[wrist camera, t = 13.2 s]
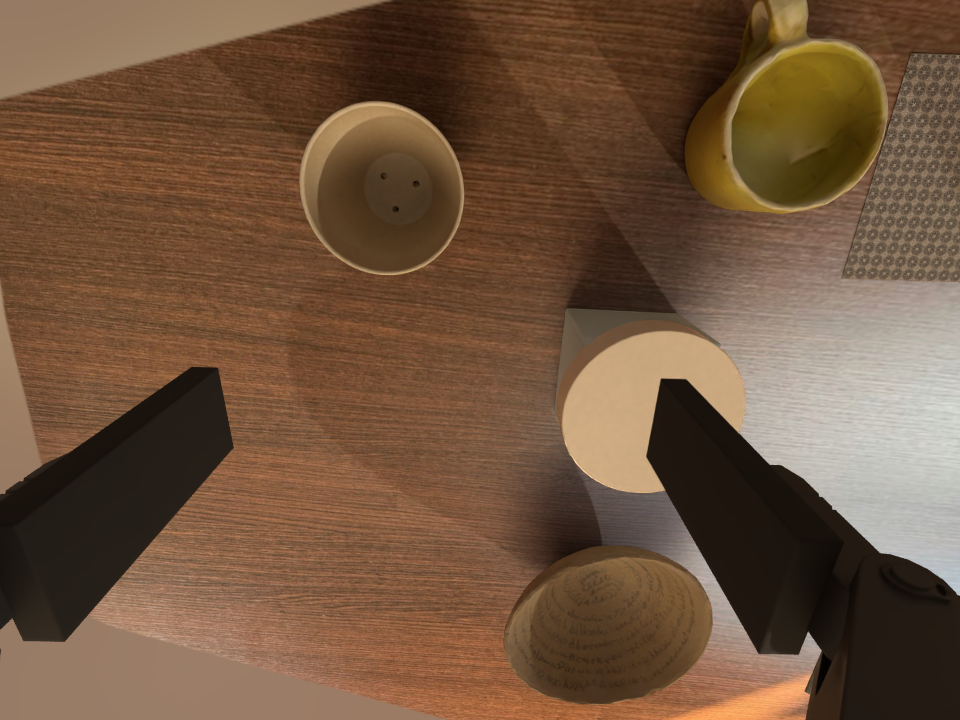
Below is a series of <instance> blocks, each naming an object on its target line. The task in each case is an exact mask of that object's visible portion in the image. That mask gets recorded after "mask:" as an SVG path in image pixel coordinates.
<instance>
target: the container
mask: <svg viewBox="0 0 960 720" xmlns="http://www.w3.org/2000/svg"><path fill="white" fill-rule="evenodd" d="M643 320H664V321H671V322H675V323H679V324H682V325H685V326H687V327H690V328H692V329H693V330H695V331H697V332H699V333H700V334H702V335H703V336H705V337H706V338H707V339H709V340H710V341H711V342H713V343H714V344H716V345H717V346H718V347H719V348H720V345H721V344H720V343H719V342H717V341H716V340H714V339H713V338H712V337H710V336H709V335H707V334H706V333H704V332H703V331H702V330H700V329H699V328H697V327H696V326H694V325H693V324H692V323H690V322H689V321H687V320H686V319H684V318H683V317H682V316H680V315H679V314H677V313H657V312H636V311H616V310H595V309H574V308H566V312H565V321H564V329H563V338H562V346H561V355H560V363H559V372H558V380H557V389H556V397H555V406H554V409H555V413H556V416H557V396H558V391H559V387H560V384H561V381H562V378H563V376H564V374H565V372H566V370H567V368H568V367H569V365H570V364H571V362H572V361H573V359H574V358H575V357H576V356H577V354H578V353H579V352H580V351H581V350H582V349H583V348H584V347H585V346H586V345H587V344H589V343H590V342H591V341H592V340H594V339H595V338H597V337H598V336H600V335H601V334H603V333H605V332H607V331H609V330H611V329H613V328H615V327H618V326H621V325H623V324H627V323H631V322H636V321H643ZM557 419H558V416H557ZM558 422H559V421H558ZM567 450H568V449H567ZM568 454H569V455H570V453H569V451H568Z"/></svg>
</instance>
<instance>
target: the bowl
mask: <svg viewBox="0 0 960 720" xmlns="http://www.w3.org/2000/svg"><path fill="white" fill-rule="evenodd" d="M712 625H713V620H712V608H711V603H710V601H709V598H708V596H707V594H706V592H705V590H704V588H703V587H702V585H701V584H700V582H699V581H698V580H697V578H696V577H695V576H694V575H692V574H691V573H690V572H689V571H688V570H686V569H685V568H684V567H682V566H681V565H679V564H678V563H676V562H674V561H673V560H671V559H669V558H667V557H665V556H662V555H660V554H658V553H655V552H652V551H649V550H645V549H641V548H636V547H628V546H609V545H603V546H595V547H590V548H586V549H583V550H580V551H578V552H575V553H572V554H570V555H568V556H566V557H564V558H562V559H560V560H559V561H557V562H555V563H554V564H552V565H551V566H549V567H548V568H547V569H546V570H544V571H543V572H542V573H541V574H539V575H538V576H537V577H536V578H535V579H534V580H533V581H532V582H531V583H530V584H529V585H528V586H527V587H526V589H525V590H524V591H523V593H522V594H521V596H520V598H519V599H518V601H517V602H516V604H515V606H514V608H513V610H512V612H511V614H510V616H509V619H508V621H507V624H506V627H505V632H504V650H505V655H506V658H507V660H508V663H509V665H510V666H511V668H512V670H513V671H514V673H515V674H516V675H517V676H518V677H519V679H521V680H522V681H523V682H524V683H525V684H526V685H527V686H529V687H530V688H532V689H533V690H535V691H537V692H539V693H541V694H543V695H545V696H548V697H550V698H553V699H557V700H561V701H566V702H569V703H575V704H590V705H602V704H612V703H617V702H622V701H627V700H634V699H638V698H642V697H645V696H649V695H652V694H653V693H655V692H656V691H661V690H663V689H665V688H667V687H669V686H670V685H672V684H673V683H674V682H676V681H677V680H679V679H680V678H682V677H683V676H684V675H685V674H687V673H688V672H689V671H690V670H691V669H692V668H693V667H694V666H695V665H696V663H697V662H698V661H699V659H700V658H701V656H702V655H703V653H704V651H705V649H706V647H707V644H708V641H709V638H710V635H711V631H712Z"/></svg>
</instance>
